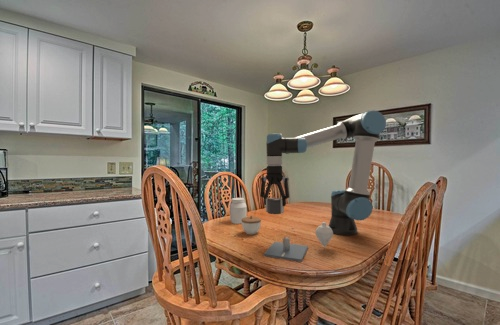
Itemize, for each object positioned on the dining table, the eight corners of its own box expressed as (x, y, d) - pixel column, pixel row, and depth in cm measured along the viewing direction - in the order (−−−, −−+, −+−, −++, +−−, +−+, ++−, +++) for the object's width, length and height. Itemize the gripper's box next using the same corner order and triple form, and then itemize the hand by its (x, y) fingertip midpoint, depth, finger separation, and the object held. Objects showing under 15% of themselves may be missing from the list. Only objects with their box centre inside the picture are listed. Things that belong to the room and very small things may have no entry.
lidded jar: (265, 232, 136) (264, 215, 135) (252, 237, 128) (251, 219, 128) (250, 228, 143) (250, 212, 143) (237, 233, 135) (237, 216, 135)
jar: (247, 223, 155) (247, 199, 155) (233, 224, 152) (232, 200, 152) (243, 218, 166) (242, 197, 166) (229, 220, 163) (229, 197, 163)
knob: (283, 211, 121) (283, 197, 121) (279, 214, 115) (279, 200, 114) (270, 210, 124) (270, 197, 123) (265, 213, 117) (265, 199, 117)
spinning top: (323, 252, 106) (323, 225, 106) (312, 246, 113) (312, 221, 113) (336, 249, 109) (336, 223, 109) (325, 244, 116) (325, 219, 116)
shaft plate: (308, 247, 112) (307, 234, 111) (301, 261, 97) (301, 247, 97) (274, 243, 118) (274, 231, 118) (263, 256, 103) (263, 242, 103)
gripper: (296, 165, 118) (296, 212, 118) (258, 165, 126) (259, 209, 127) (292, 165, 111) (292, 215, 112) (252, 165, 119) (253, 212, 120)
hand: (274, 212), depth 119 cm, fingers closed on knob, 7 cm apart
